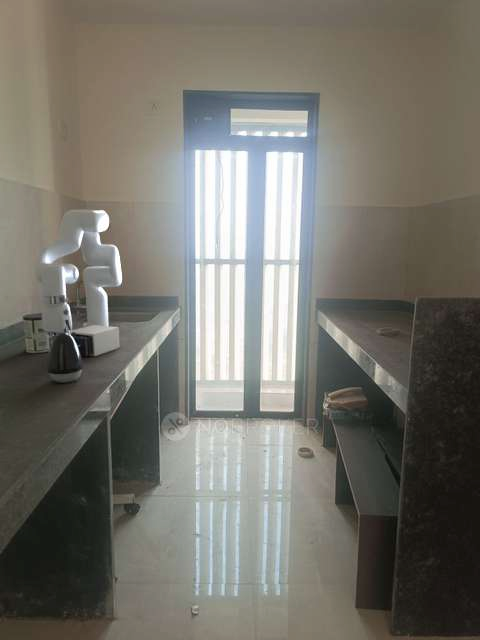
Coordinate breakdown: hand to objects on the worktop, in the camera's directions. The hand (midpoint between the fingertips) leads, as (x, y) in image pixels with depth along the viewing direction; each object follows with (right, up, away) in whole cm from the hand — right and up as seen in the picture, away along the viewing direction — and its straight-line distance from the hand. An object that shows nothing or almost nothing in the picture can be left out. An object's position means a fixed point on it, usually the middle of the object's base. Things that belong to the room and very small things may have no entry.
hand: (58, 350), depth 149 cm
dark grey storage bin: (+4, -1, +11) cm, 12 cm away
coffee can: (-15, -1, +17) cm, 23 cm away
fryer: (+7, -1, +18) cm, 19 cm away
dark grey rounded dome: (+11, -8, -19) cm, 23 cm away
